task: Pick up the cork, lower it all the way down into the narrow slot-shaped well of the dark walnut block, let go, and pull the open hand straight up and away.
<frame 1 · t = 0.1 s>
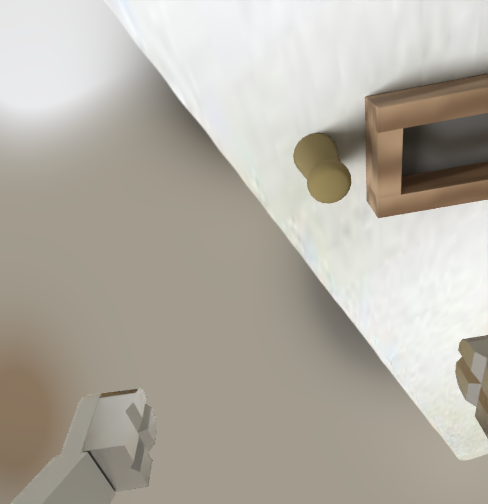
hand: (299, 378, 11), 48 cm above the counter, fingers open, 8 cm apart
well block: (439, 139, 57), on the counter
cork: (314, 154, 58), on the counter
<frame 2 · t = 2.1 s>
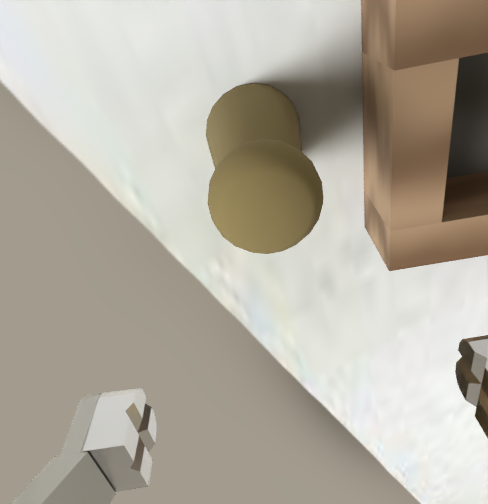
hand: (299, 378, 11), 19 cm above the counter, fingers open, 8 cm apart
cork: (253, 132, 27), on the counter
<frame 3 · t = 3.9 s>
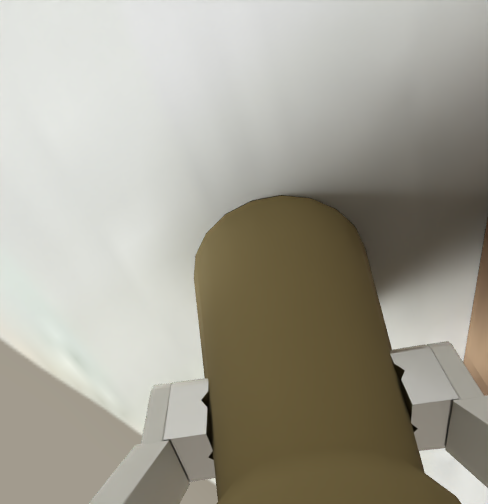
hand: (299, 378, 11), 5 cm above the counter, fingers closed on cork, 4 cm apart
cork: (279, 270, 15), on the counter, touching gripper
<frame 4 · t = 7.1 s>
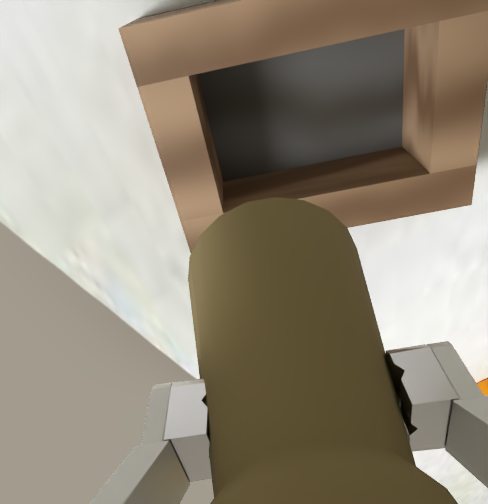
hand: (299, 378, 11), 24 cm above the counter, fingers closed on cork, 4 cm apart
well block: (304, 105, 30), on the counter
cork: (272, 271, 15), point 19 cm above the counter, touching gripper
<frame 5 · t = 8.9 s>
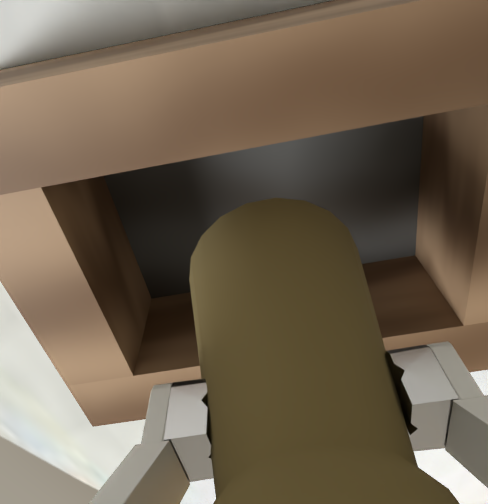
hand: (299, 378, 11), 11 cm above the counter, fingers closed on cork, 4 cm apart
well block: (267, 198, 20), on the counter
cork: (273, 271, 15), point 6 cm above the counter, touching gripper
when the fingers open (5 cm above the counter, at t = 10.4 s): cork stays where it is, resting on well block.
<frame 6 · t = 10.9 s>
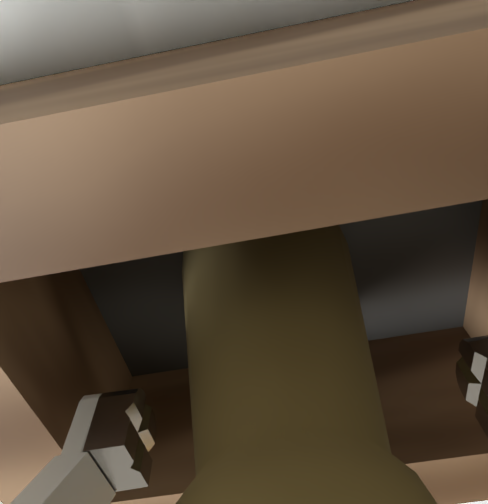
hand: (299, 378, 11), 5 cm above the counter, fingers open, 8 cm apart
well block: (278, 261, 15), on the counter
cork: (265, 265, 15), resting on well block
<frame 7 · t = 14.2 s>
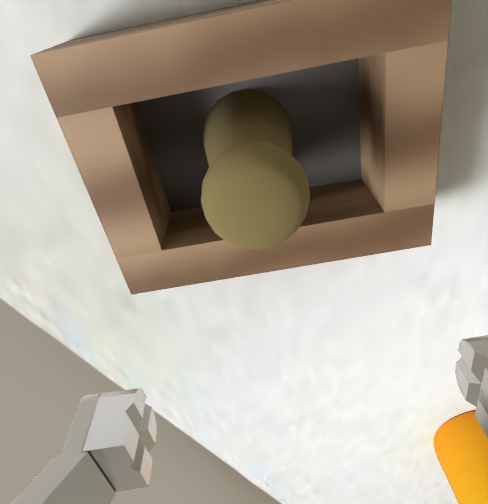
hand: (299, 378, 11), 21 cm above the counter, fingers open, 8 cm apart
beer bottle: (470, 431, 48), on the counter
well block: (254, 133, 28), on the counter
cork: (247, 135, 28), resting on well block
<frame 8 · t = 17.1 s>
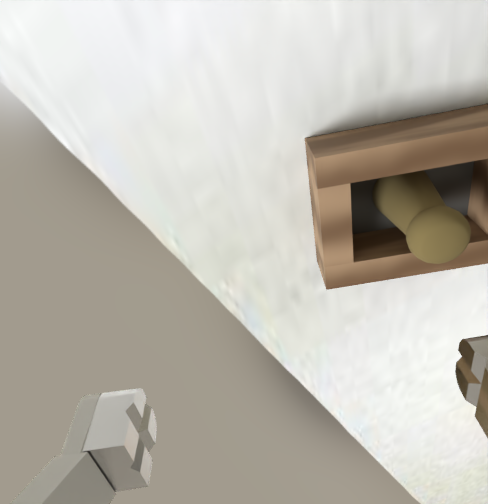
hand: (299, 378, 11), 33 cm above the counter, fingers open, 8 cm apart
well block: (404, 188, 44), on the counter
cork: (399, 189, 44), resting on well block
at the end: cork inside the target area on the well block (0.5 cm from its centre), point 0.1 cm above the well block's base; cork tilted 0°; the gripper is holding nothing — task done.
